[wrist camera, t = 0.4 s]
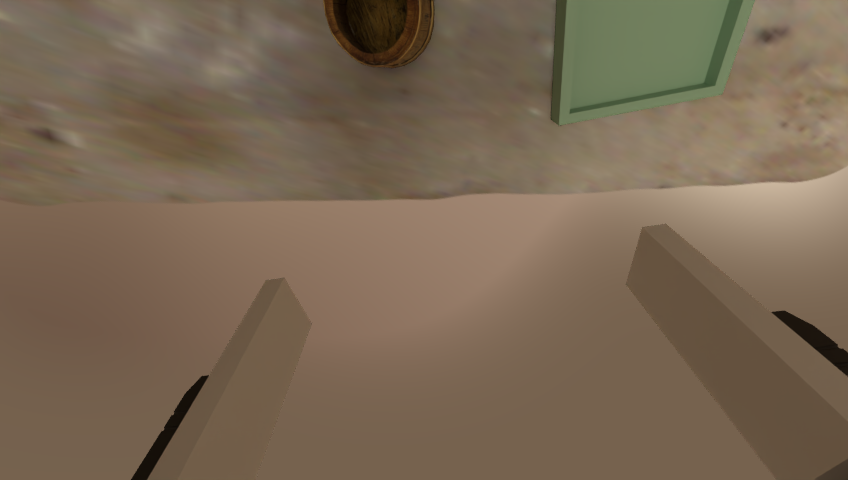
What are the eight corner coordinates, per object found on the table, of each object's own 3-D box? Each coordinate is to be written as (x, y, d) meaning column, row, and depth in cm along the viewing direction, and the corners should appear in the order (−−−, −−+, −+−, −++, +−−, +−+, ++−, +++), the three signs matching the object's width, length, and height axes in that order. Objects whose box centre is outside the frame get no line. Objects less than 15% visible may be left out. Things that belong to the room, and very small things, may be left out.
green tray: (560, -78, 25) (572, -87, 23) (773, -134, 24) (806, -148, 22) (550, 119, 35) (558, 125, 33) (703, 89, 33) (722, 94, 31)
